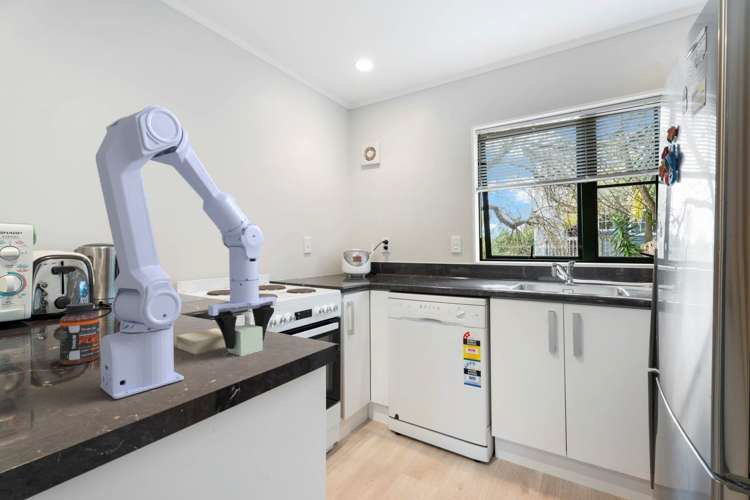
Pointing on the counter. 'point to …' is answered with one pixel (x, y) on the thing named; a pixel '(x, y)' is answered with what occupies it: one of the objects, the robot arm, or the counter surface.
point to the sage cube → (247, 340)
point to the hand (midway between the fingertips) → (245, 344)
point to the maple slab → (201, 341)
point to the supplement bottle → (79, 334)
